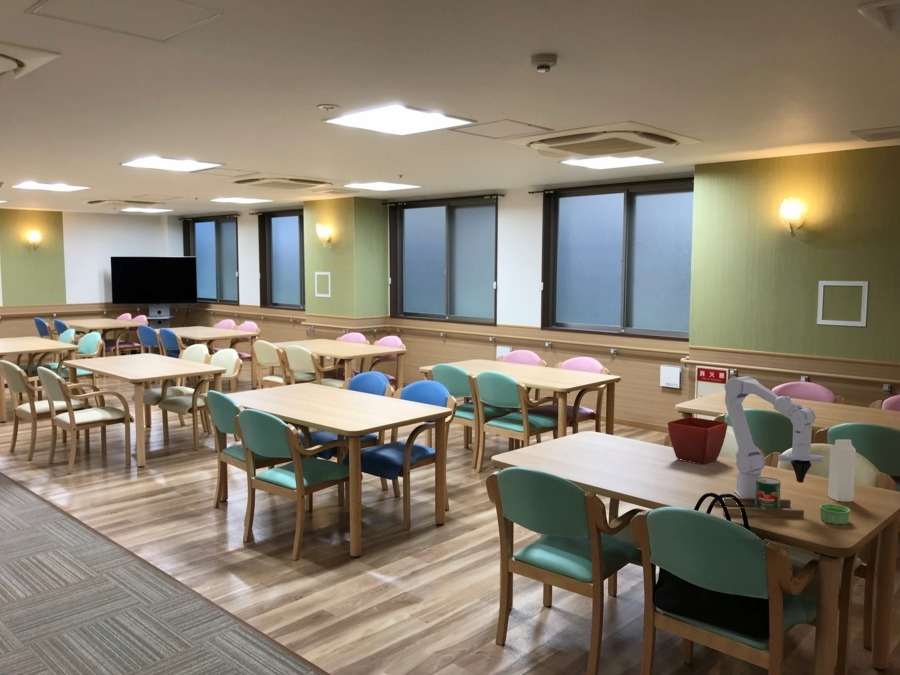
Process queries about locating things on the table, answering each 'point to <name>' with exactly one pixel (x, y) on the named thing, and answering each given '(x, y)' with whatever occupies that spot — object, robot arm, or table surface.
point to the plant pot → (697, 439)
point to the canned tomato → (767, 492)
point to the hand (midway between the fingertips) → (799, 481)
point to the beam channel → (761, 509)
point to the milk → (842, 470)
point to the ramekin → (835, 513)
